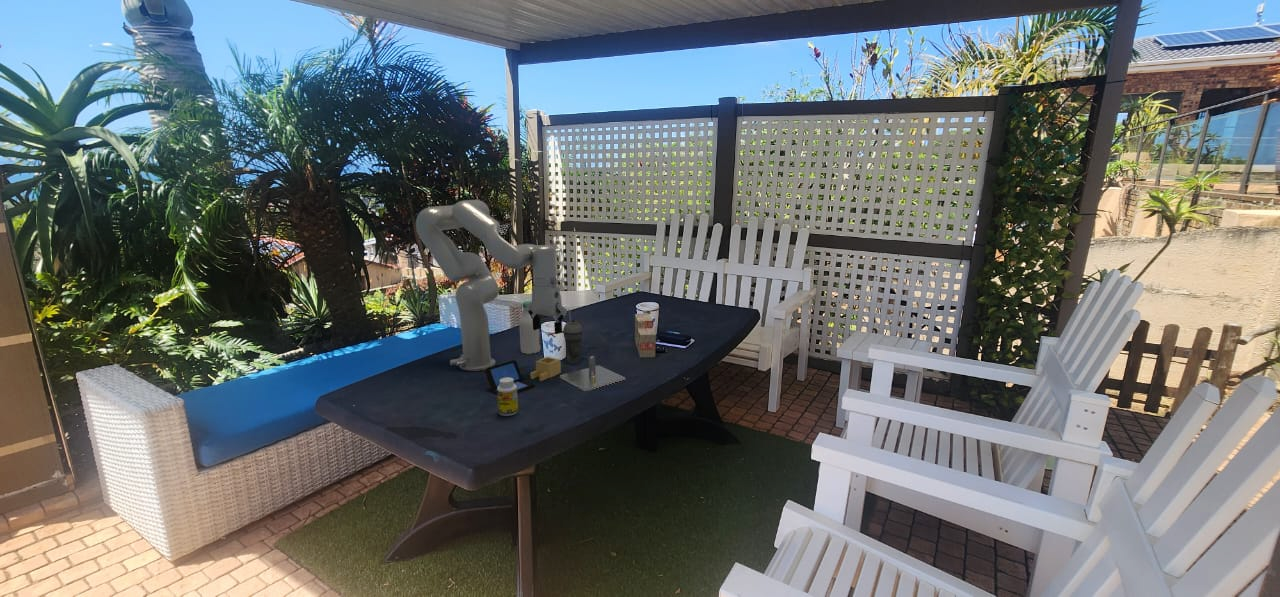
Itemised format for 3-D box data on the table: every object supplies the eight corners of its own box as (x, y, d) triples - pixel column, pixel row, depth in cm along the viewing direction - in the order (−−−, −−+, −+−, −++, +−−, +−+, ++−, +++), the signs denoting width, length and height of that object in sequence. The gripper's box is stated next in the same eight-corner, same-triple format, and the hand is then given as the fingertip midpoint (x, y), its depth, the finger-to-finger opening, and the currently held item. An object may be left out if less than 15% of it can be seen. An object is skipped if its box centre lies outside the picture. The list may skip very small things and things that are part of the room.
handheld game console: (505, 399, 165) (504, 376, 164) (485, 390, 172) (483, 368, 171) (537, 387, 175) (536, 365, 173) (516, 379, 182) (515, 359, 180)
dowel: (592, 382, 175) (592, 376, 175) (590, 381, 176) (590, 375, 176) (596, 381, 176) (596, 375, 176) (593, 380, 177) (593, 374, 177)
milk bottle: (538, 354, 207) (536, 304, 203) (518, 354, 207) (515, 304, 203) (542, 348, 215) (540, 300, 211) (523, 348, 215) (520, 300, 211)
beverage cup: (582, 364, 196) (580, 311, 191) (562, 364, 196) (560, 311, 192) (584, 358, 203) (583, 307, 199) (565, 357, 203) (563, 307, 199)
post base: (585, 391, 170) (584, 368, 168) (559, 377, 182) (559, 355, 181) (625, 380, 180) (625, 357, 178) (598, 367, 192) (598, 346, 190)
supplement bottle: (494, 415, 153) (492, 381, 151) (506, 407, 158) (504, 375, 156) (511, 418, 151) (508, 384, 149) (522, 410, 156) (520, 377, 154)
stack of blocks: (655, 357, 204) (655, 326, 201) (639, 358, 203) (639, 327, 200) (649, 341, 224) (649, 312, 222) (634, 341, 224) (634, 313, 221)
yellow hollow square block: (547, 369, 190) (547, 356, 189) (560, 372, 187) (560, 359, 186) (529, 378, 182) (528, 364, 181) (542, 381, 179) (542, 367, 178)
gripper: (572, 282, 178) (574, 331, 182) (533, 278, 187) (536, 325, 190) (557, 286, 172) (560, 337, 175) (518, 281, 181) (521, 330, 184)
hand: (547, 331), depth 183 cm, fingers open, 9 cm apart
